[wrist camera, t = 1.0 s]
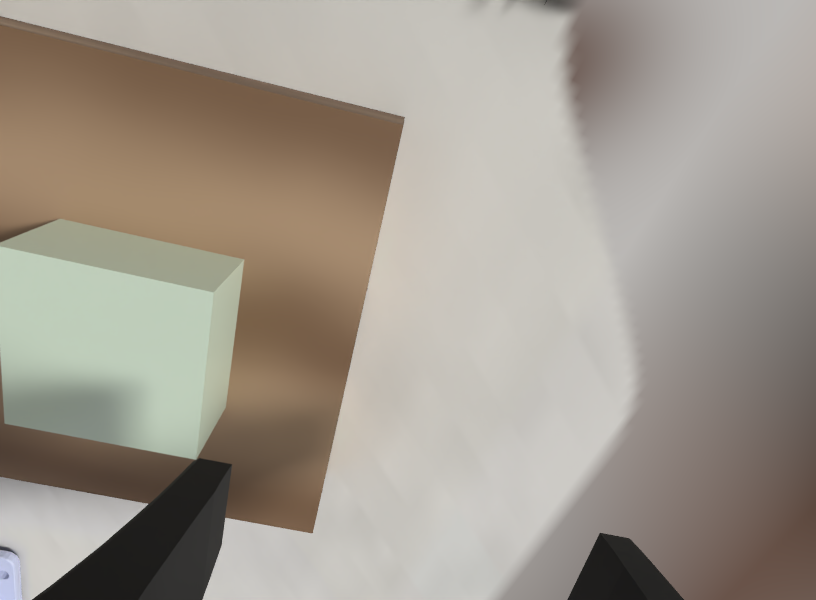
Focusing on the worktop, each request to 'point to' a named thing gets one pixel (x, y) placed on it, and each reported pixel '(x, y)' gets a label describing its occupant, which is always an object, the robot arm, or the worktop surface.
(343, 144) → the wooden cutting board
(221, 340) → the block
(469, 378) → the worktop surface
